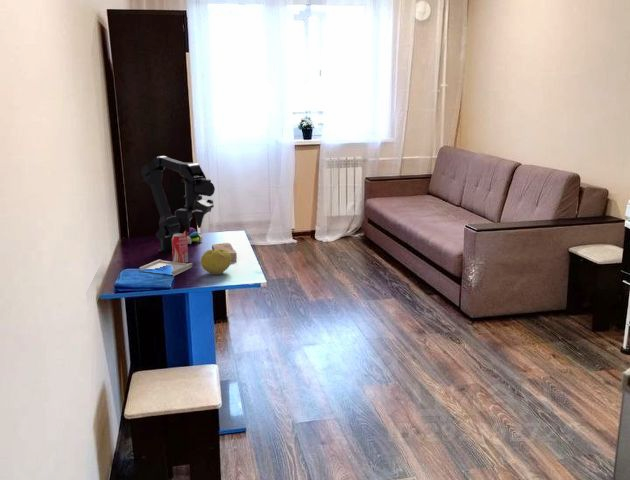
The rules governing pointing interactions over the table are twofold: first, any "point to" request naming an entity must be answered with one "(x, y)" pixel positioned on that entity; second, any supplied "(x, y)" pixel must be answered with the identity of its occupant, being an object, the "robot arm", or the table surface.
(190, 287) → the table surface
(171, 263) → the tray
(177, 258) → the beverage can
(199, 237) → the multicoloured layered toy figurine
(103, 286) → the table surface
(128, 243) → the table surface
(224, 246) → the brick
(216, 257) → the fruit
